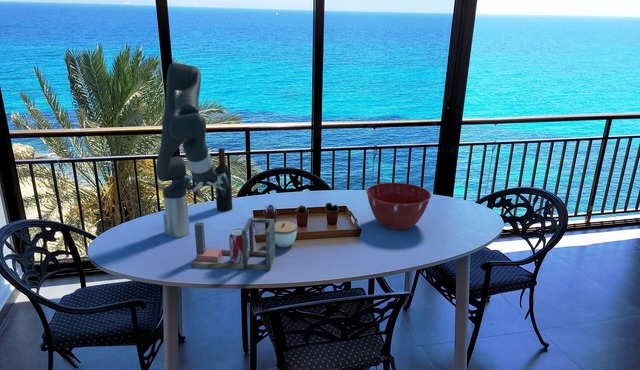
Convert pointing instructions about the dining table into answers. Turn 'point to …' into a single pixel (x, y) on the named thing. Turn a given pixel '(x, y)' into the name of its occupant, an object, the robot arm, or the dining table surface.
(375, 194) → the mixing bowl
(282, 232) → the lidded jar
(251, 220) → the grey bar frame
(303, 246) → the dining table surface
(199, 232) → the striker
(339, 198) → the dining table surface
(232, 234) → the soda can
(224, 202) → the wine bottle
